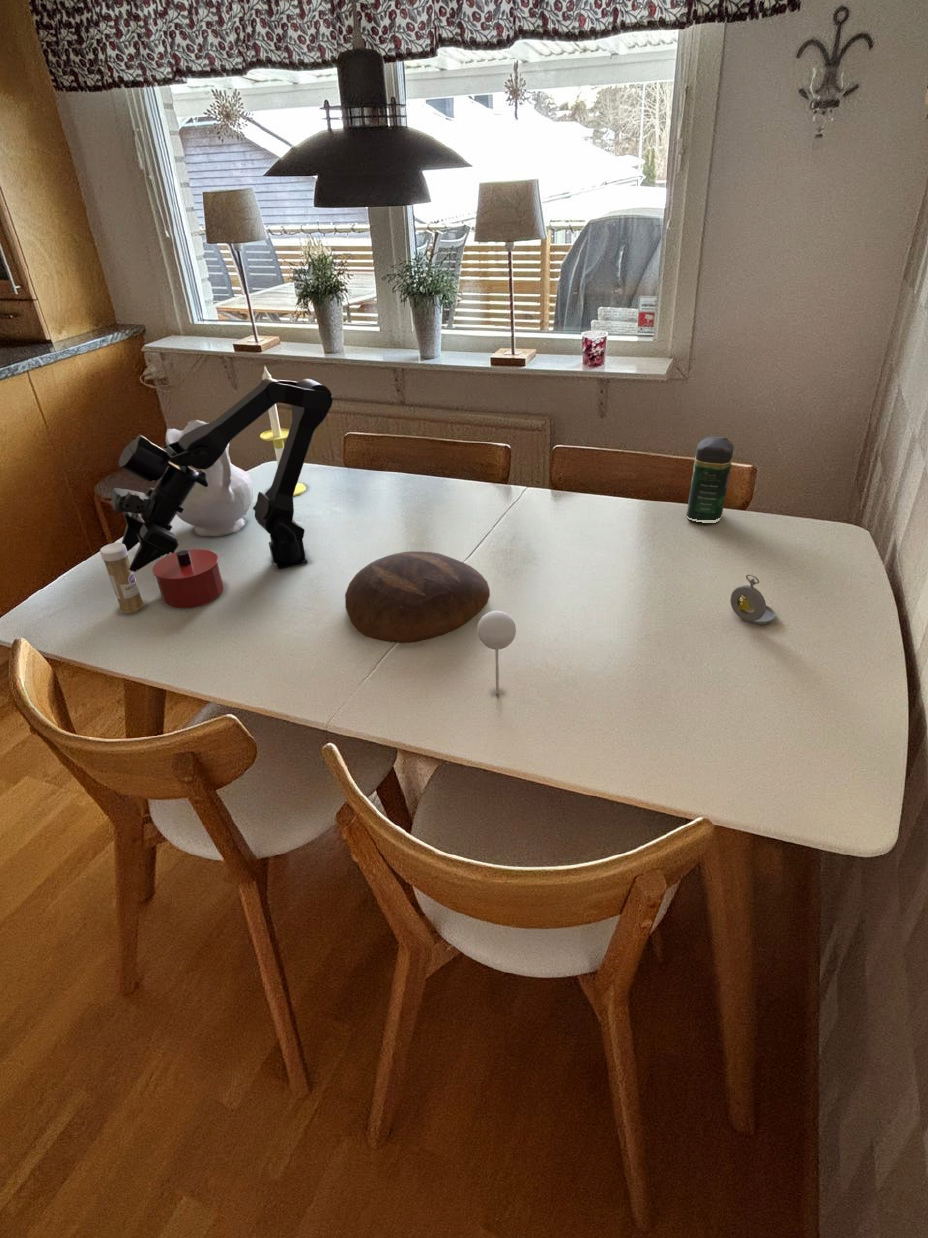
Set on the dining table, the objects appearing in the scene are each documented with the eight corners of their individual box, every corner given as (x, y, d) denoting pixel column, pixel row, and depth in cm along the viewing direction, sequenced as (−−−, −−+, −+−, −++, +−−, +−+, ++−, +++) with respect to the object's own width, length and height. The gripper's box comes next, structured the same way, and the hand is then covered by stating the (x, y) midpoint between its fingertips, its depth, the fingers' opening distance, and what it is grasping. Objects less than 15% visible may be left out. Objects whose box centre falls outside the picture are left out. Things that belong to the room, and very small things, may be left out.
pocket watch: (774, 609, 134) (785, 562, 128) (775, 634, 127) (786, 584, 122) (727, 603, 136) (736, 556, 131) (726, 627, 129) (735, 578, 124)
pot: (210, 573, 154) (203, 546, 150) (232, 594, 146) (226, 566, 143) (155, 592, 148) (146, 564, 144) (175, 614, 140) (167, 586, 136)
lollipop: (477, 682, 118) (474, 604, 110) (512, 680, 118) (512, 601, 110) (481, 706, 113) (478, 626, 105) (518, 703, 113) (518, 623, 105)
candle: (261, 497, 189) (236, 369, 171) (276, 482, 197) (253, 359, 180) (298, 498, 187) (276, 369, 170) (311, 483, 196) (291, 359, 178)
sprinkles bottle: (141, 613, 141) (121, 551, 134) (117, 615, 141) (96, 553, 133) (147, 601, 145) (128, 540, 138) (124, 603, 144) (103, 542, 137)
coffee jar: (719, 528, 163) (733, 449, 153) (683, 524, 166) (694, 445, 156) (723, 512, 171) (736, 435, 161) (689, 507, 173) (700, 432, 163)
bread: (425, 559, 156) (422, 522, 151) (519, 602, 139) (519, 562, 134) (315, 610, 139) (308, 570, 135) (407, 666, 123) (403, 623, 118)
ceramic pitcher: (282, 526, 175) (270, 423, 164) (219, 553, 161) (200, 442, 149) (222, 510, 186) (205, 412, 174) (157, 533, 171) (135, 428, 159)
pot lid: (205, 547, 151) (201, 532, 149) (229, 568, 143) (225, 553, 141) (144, 567, 145) (139, 551, 143) (166, 590, 136) (161, 574, 134)
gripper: (119, 458, 138) (77, 526, 139) (141, 487, 125) (94, 562, 126) (172, 486, 146) (131, 550, 147) (198, 517, 133) (153, 587, 134)
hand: (126, 561), depth 138 cm, fingers open, 9 cm apart
